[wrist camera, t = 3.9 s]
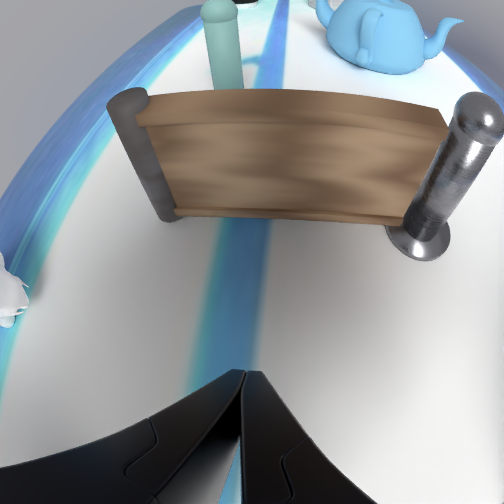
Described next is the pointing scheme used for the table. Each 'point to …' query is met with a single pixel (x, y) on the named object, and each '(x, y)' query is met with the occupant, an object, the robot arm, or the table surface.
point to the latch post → (223, 43)
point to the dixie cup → (245, 3)
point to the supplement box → (334, 3)
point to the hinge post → (449, 177)
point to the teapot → (381, 34)
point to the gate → (277, 153)
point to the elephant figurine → (10, 296)
